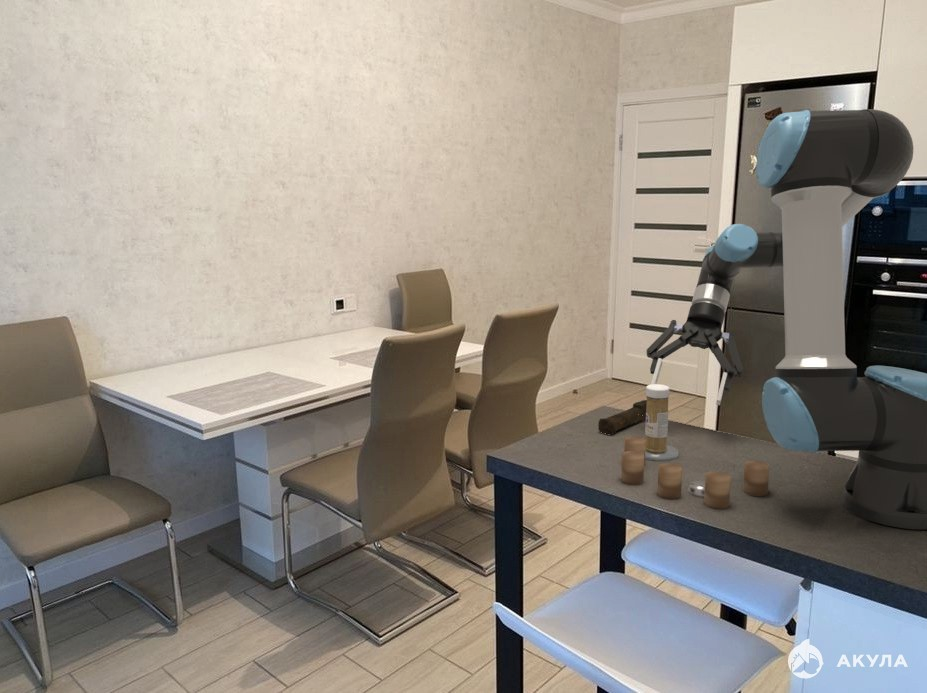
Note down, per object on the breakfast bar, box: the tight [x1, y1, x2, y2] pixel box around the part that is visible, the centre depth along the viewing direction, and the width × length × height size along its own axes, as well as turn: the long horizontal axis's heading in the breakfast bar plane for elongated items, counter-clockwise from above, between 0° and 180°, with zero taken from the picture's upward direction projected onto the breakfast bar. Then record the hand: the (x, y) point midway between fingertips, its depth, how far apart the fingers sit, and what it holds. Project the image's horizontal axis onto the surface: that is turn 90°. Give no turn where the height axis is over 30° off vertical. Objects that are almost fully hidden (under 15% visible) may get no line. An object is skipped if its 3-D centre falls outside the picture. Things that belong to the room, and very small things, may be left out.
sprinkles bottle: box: [644, 383, 670, 453], centre depth 143 cm, size 5×5×13 cm
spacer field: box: [620, 436, 771, 510], centre depth 129 cm, size 26×18×5 cm
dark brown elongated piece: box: [597, 399, 647, 436], centre depth 162 cm, size 19×4×5 cm, turn 133°
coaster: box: [645, 444, 679, 462], centre depth 144 cm, size 9×9×1 cm
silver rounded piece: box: [687, 480, 705, 498], centre depth 124 cm, size 4×4×2 cm
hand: (684, 395), depth 150 cm, fingers open, 13 cm apart
